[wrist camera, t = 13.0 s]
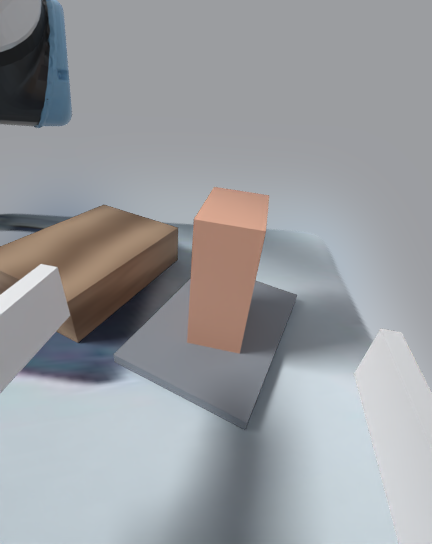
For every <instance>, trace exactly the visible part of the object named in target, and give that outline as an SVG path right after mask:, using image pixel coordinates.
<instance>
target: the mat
mask: <svg viewBox="0 0 432 544" xmlns="http://www.w3.org/2000/svg"><path fill="white" fill-rule="evenodd" d="M190 280H191V278H190V279H189V280H188V281H187V282H186V283H185V284H184V285H183V286H182V287H181V288H180V289H179V290H178V291H177V292H176V293H175V294H174V295H173V296H172V297H171V298H170V299H169V300H168V301H167V302H166V303H165V304H164V305H163V306H162V307H161V308H160V309H159V310H158V311H157V312H156V313H155V314H154V315H153V316H152V317H151V318H150V319H149V320H148V321H147V322H146V323H145V324H144V325H143V326H142V327H141V328H140V329H139V330H138V331H137V332H136V333H135V334H134V335H133V336H132V337H131V338H130V339H129V340H128V341H127V342H126V343H125V344H124V345H123V346H122V347H121V348H120V349H119V350H118V351H117V352H116V353H115V354H114V361H115V362H116V363H118V364H120V365H122V366H123V367H125V368H127V369H129V370H131V371H133V372H135V373H137V374H139V375H141V376H143V377H145V378H146V379H148V380H150V381H152V382H154V383H156V384H158V385H160V386H162V387H164V388H166V389H168V390H170V391H171V392H173V393H175V394H177V395H179V396H181V397H183V398H185V399H187V400H189V401H191V402H193V403H194V404H196V405H198V406H200V407H202V408H204V409H206V410H208V411H210V412H212V413H214V414H216V415H217V416H219V417H221V418H223V419H225V420H227V421H229V422H231V423H233V424H235V425H237V426H239V427H240V428H242V429H244V430H245V429H246V426H247V424H248V421H249V418H250V416H251V413H252V411H253V408H254V406H255V403H256V400H257V398H258V395H259V393H260V390H261V388H262V385H263V383H264V380H265V377H266V375H267V372H268V370H269V367H270V365H271V362H272V359H273V357H274V354H275V352H276V349H277V347H278V344H279V342H280V339H281V336H282V334H283V331H284V329H285V326H286V324H287V321H288V318H289V316H290V313H291V311H292V308H293V306H294V303H295V300H296V297H297V295H296V294H293V293H290V292H287V291H284V290H281V289H278V288H275V287H272V286H270V285H267V284H264V283H261V282H258V281H255V285H254V289H253V294H252V299H251V303H250V308H249V313H248V317H247V322H246V327H245V331H244V336H243V341H242V345H241V350H240V354H239V353H234V352H229V351H225V350H220V349H215V348H210V347H206V346H201V345H196V344H191V343H187V335H188V317H189V298H190Z"/></svg>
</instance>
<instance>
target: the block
mask: <svg viewBox="0 0 432 544" xmlns="http://www.w3.org/2000/svg"><path fill="white" fill-rule="evenodd" d="M268 201H269V195H262V194H256V193H249V192H243V191H236V190H231V189H223V188H218V187H214V188H213V190H212V191H211V193H210V195H209V196H208V198H207V199H206V201H205V202H204V204H203V206H202V207H201V209H200V210H199V212H198V213H197V215H196V217H195V218H194V225H193V244H192V262H191V280H190V298H189V317H188V335H187V343H191V344H196V345H201V346H206V347H210V348H215V349H220V350H225V351H229V352H234V353H239V354H240V350H241V345H242V341H243V336H244V331H245V327H246V322H247V317H248V313H249V308H250V303H251V299H252V294H253V289H254V285H255V280H256V275H257V271H258V266H259V261H260V256H261V252H262V247H263V242H264V238H265V233H266V224H267V213H268Z"/></svg>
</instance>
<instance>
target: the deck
mask: <svg viewBox="0 0 432 544" xmlns="http://www.w3.org/2000/svg"><path fill="white" fill-rule="evenodd" d="M177 254H178V228H177V227H174V226H171V225H168V224H165V223H161V222H158V221H155V220H152V219H149V218H145V217H142V216H139V215H135V214H132V213H129V212H126V211H123V210H120V209H116V208H113V207H109V206H107V205H102V206H99V207H97V208H94V209H92V210H89V211H87V212H85V213H82V214H80V215H78V216H75V217H72V218H70V219H67V220H65V221H62V222H60V223H57V224H55V225H52V226H50V227H47V228H45V229H42V230H40V231H38V232H35V233H33V234H30V235H28V236H25V237H23V238H20V239H18V240H15V241H13V242H10V243H8V244H5V245H3V246H0V295H1V294H2V293H3V292H5V291H6V290H7V289H9V288H10V287H11V286H13V285H14V284H15V283H16V282H18V281H19V280H20V279H22V278H23V277H24V276H26V275H27V274H28V273H30V272H31V271H32V270H34V269H35V268H36V267H38V266H39V265H40V264H44V265H49V266H54V267H58V270H59V274H60V278H61V282H62V286H63V290H64V293H65V297H66V301H67V305H68V309H69V312H70V316H69V317H68V319H67V320H66V321H65V322H64V323H63V324H62V325H61V326H60V327H59V329H58V330H57V331H56V332H58V333H60V334H62V335H64V336H66V337H68V338H70V339H72V340H74V341H75V342H77V343H78V342H79V341H81V340H82V339H83V338H84V337H85V336H87V335H88V334H89V333H90V332H91V331H93V330H94V329H95V328H96V327H97V326H99V325H100V324H101V323H102V322H103V321H105V320H106V319H107V318H108V317H109V316H111V315H112V314H113V313H114V312H115V311H117V310H118V309H119V308H120V307H121V306H123V305H124V304H125V303H126V302H127V301H129V300H130V299H131V298H132V297H133V296H135V295H136V294H137V293H138V292H139V291H141V290H142V289H143V288H144V287H145V286H147V285H148V284H149V283H150V282H151V281H153V280H154V279H155V278H156V277H157V276H159V275H160V274H161V273H162V272H163V271H165V270H166V269H167V268H168V267H169V266H171V265H172V264H173V263H174V262H175V261H177Z"/></svg>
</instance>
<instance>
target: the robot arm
mask: <svg viewBox="0 0 432 544" xmlns="http://www.w3.org/2000/svg"><path fill="white" fill-rule="evenodd" d="M71 117H72V108H71V97H70V84H69V72H68V61H67V49H66V36H65V25H64V12H63V8H62V6H61V5H60V3H59V2H58V1H57V0H0V124H7V125H21V126H34V127H37V128H40V127H42V126H63V125H66V124H67V123H68V122H69V121H70V120H71ZM69 316H70V312H69V309H68V305H67V301H66V297H65V293H64V290H63V286H62V282H61V278H60V274H59V270H58V267H54V266H49V265H44V264H40V265H39V266H38V267H36V268H35V269H34V270H32V271H31V272H30V273H28V274H27V275H26V276H24V277H23V278H22V279H20V280H19V281H18V282H16V283H15V284H14V285H13V286H11V287H10V288H9V289H7V290H6V291H5V292H3V293H2V294H1V295H0V393H1V392H2V391H3V390H4V389H5V388H6V387H7V385H8V384H9V383H10V382H11V381H12V380H13V379H14V378H15V377H16V375H17V374H18V373H19V372H20V371H21V370H22V369H23V368H24V367H25V365H26V364H27V363H28V362H29V361H30V360H31V359H32V358H33V356H34V355H35V354H36V353H37V352H38V351H39V350H40V349H41V348H42V346H43V345H44V344H45V343H46V342H47V341H48V340H49V339H50V338H51V336H52V335H53V334H54V333H55V332H56V331H57V330H58V329H59V327H60V326H61V325H62V324H63V323H64V322H65V321H66V320H67V319H68V317H69ZM354 376H355V380H356V384H357V388H358V391H359V395H360V399H361V403H362V407H363V411H364V414H365V418H366V422H367V426H368V430H369V433H370V437H371V441H372V445H373V449H374V452H375V456H376V460H377V464H378V468H379V472H380V475H381V479H382V483H383V487H384V491H385V494H386V498H387V502H388V506H389V510H390V514H391V517H392V521H393V525H394V529H395V533H396V536H397V540H398V544H432V392H431V390H430V388H429V386H428V384H427V382H426V380H425V378H424V376H423V374H422V372H421V370H420V368H419V366H418V364H417V362H416V360H415V358H414V356H413V354H412V352H411V350H410V348H409V346H408V344H407V342H406V340H405V338H404V336H403V334H402V333H401V332H397V331H392V330H387V329H380V330H379V332H378V334H377V335H376V337H375V339H374V340H373V342H372V344H371V346H370V347H369V349H368V351H367V352H366V354H365V356H364V357H363V359H362V361H361V363H360V364H359V366H358V368H357V369H356V371H355V373H354Z"/></svg>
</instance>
